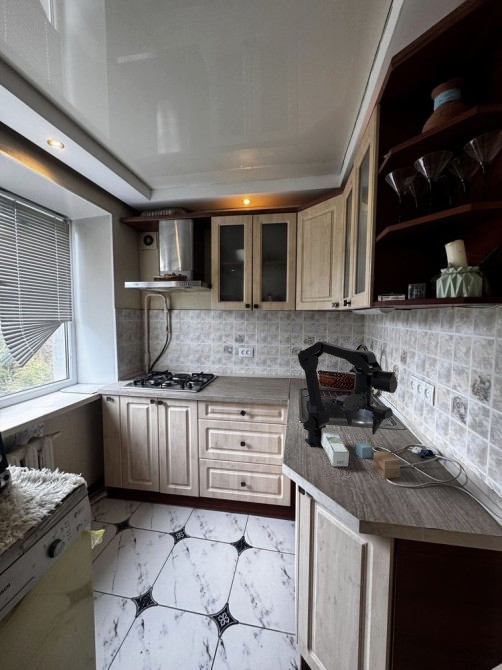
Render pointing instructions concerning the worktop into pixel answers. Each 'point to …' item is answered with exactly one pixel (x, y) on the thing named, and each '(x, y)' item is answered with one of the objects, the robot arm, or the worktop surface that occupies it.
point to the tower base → (385, 471)
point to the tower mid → (386, 460)
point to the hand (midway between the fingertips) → (361, 429)
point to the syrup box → (335, 448)
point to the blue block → (363, 450)
